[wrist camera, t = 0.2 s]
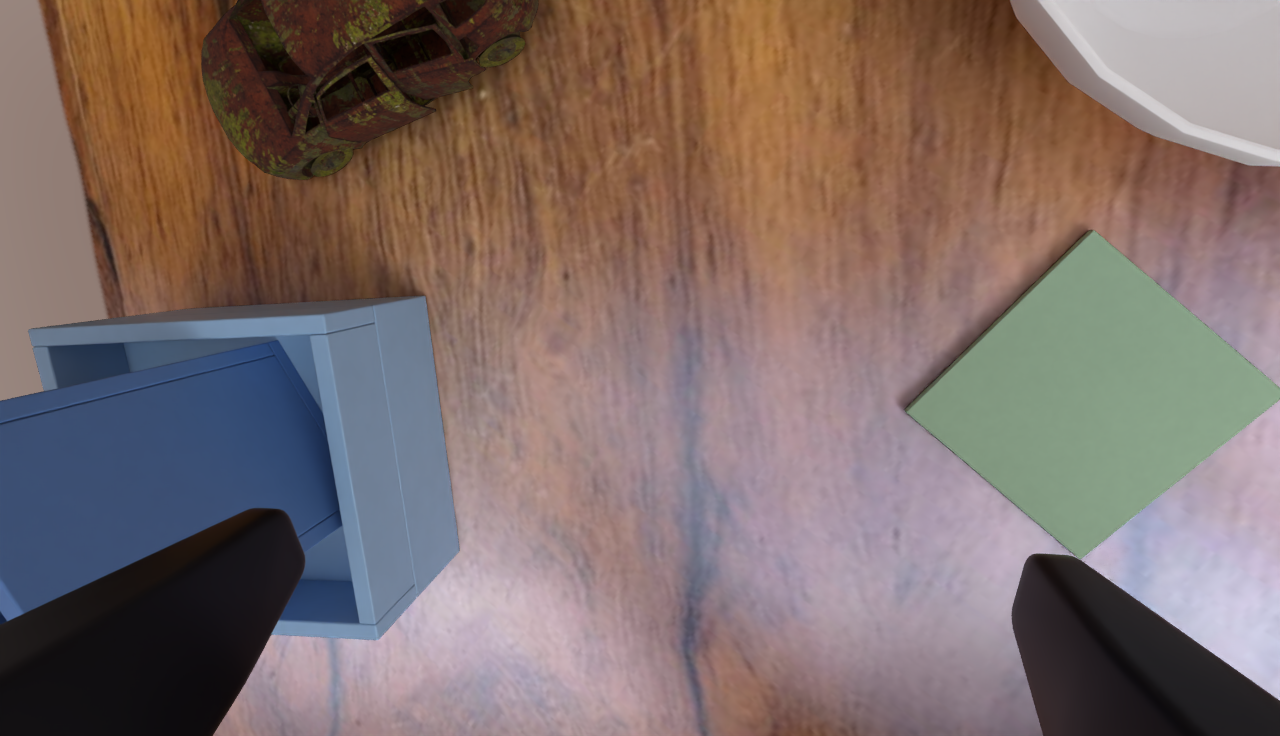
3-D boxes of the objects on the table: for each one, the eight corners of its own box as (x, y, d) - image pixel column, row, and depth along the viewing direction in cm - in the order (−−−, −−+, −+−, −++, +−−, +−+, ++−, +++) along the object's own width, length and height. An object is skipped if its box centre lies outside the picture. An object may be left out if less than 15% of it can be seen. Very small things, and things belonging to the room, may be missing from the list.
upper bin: (377, 501, 22) (87, 708, 12) (246, 567, 24) (-100, 796, 14) (278, 339, 21) (-111, 424, 12) (151, 419, 23) (-284, 552, 13)
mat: (1075, 555, 22) (1080, 560, 21) (903, 409, 22) (905, 412, 21) (1279, 391, 20) (1287, 394, 19) (1089, 229, 19) (1093, 229, 19)
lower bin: (460, 550, 26) (378, 641, 20) (239, 545, 28) (105, 626, 22) (426, 295, 24) (323, 313, 18) (188, 308, 26) (26, 329, 20)
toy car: (476, -151, 20) (394, -269, 15) (572, 50, 21) (522, -4, 16) (216, 43, 23) (80, -7, 18) (309, 214, 24) (202, 208, 19)
